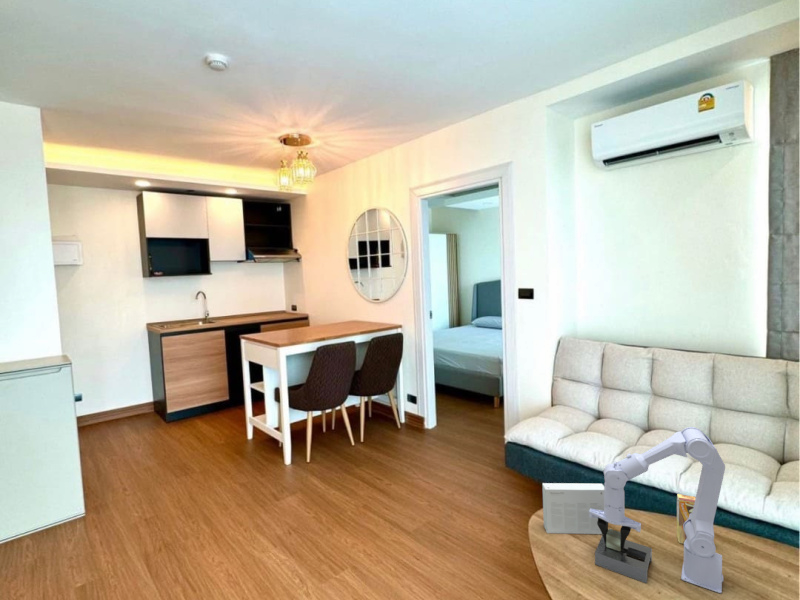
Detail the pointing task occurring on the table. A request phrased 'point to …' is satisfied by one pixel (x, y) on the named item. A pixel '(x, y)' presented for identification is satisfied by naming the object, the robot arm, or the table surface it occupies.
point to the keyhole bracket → (625, 559)
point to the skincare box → (571, 507)
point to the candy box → (683, 514)
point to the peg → (613, 539)
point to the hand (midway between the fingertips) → (614, 544)
